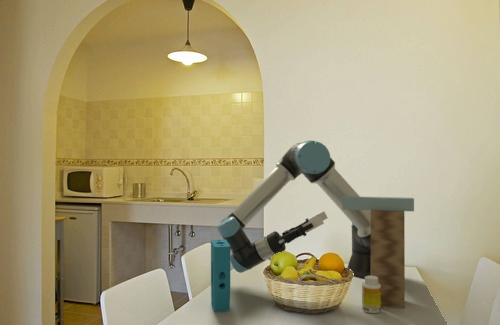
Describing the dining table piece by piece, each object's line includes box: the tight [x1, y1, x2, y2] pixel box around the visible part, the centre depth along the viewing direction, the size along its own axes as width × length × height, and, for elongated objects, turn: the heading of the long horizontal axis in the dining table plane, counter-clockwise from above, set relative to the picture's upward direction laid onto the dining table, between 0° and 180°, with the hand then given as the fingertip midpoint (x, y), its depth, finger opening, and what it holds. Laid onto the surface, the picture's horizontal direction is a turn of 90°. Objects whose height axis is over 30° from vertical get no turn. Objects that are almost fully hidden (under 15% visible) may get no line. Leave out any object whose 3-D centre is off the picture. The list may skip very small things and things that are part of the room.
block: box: [210, 238, 231, 313], centre depth 126 cm, size 12×5×20 cm, turn 11°
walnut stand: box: [371, 210, 406, 309], centre depth 130 cm, size 10×8×30 cm
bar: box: [342, 196, 415, 212], centre depth 131 cm, size 22×4×4 cm, turn 74°
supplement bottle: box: [361, 276, 382, 314], centre depth 122 cm, size 6×6×10 cm
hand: (324, 217), depth 135 cm, fingers open, 13 cm apart
